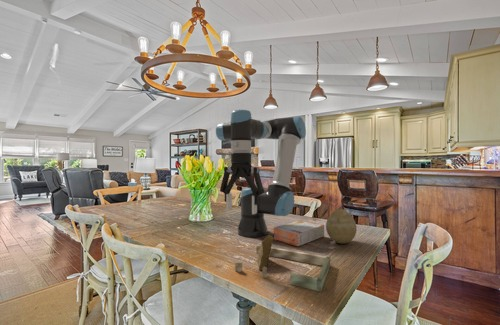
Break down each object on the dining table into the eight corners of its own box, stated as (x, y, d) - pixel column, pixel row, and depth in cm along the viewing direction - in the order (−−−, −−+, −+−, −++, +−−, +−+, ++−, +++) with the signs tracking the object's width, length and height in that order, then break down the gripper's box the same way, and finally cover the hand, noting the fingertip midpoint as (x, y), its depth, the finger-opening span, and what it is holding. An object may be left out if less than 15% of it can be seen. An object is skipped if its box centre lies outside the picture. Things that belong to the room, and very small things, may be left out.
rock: (271, 267, 76) (285, 253, 84) (256, 244, 79) (271, 233, 87) (251, 279, 82) (265, 264, 90) (237, 257, 84) (253, 245, 92)
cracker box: (301, 231, 124) (273, 239, 110) (301, 219, 124) (273, 226, 110) (324, 237, 113) (297, 247, 100) (324, 224, 113) (297, 233, 100)
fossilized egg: (356, 249, 97) (356, 213, 97) (324, 245, 102) (324, 210, 102) (356, 240, 109) (356, 207, 109) (327, 236, 114) (327, 205, 114)
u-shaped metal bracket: (235, 271, 79) (235, 262, 79) (257, 252, 95) (257, 244, 95) (321, 291, 67) (321, 281, 67) (330, 265, 83) (330, 257, 83)
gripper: (210, 152, 89) (210, 211, 90) (265, 151, 79) (265, 217, 80) (221, 153, 96) (221, 207, 96) (273, 152, 86) (273, 213, 86)
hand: (241, 212), depth 88 cm, fingers open, 10 cm apart
